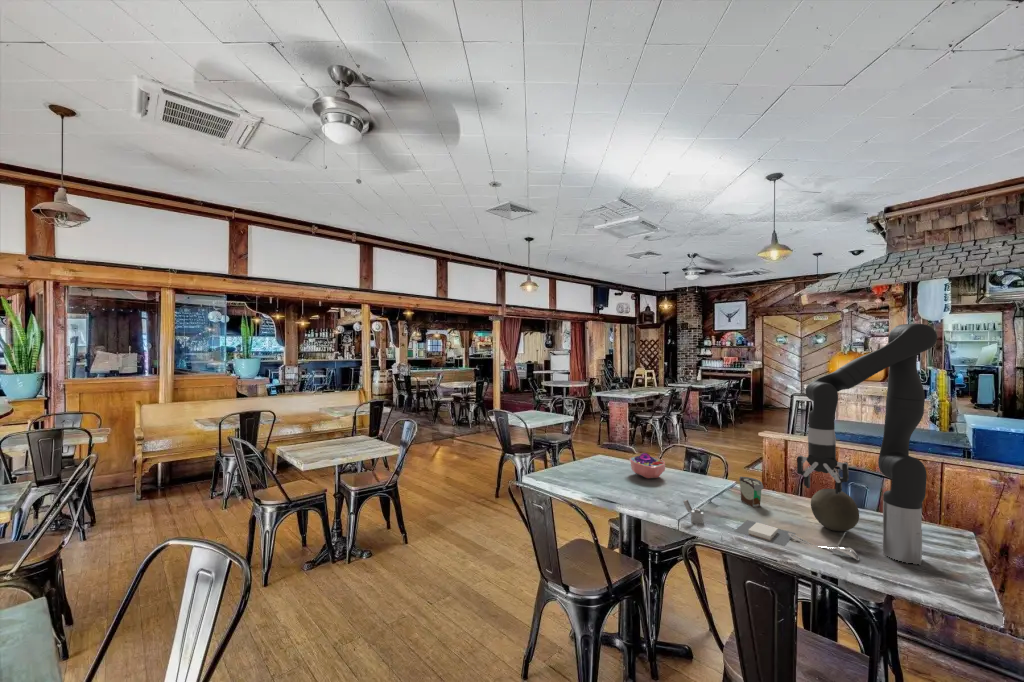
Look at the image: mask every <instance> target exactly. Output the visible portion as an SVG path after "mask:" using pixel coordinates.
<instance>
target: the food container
mask: <svg viewBox="0 0 1024 682" xmlns="http://www.w3.org/2000/svg"><path fill="white" fill-rule="evenodd" d="M738 479H739V480H738V481H739V485H740V486H739V489H740V490H739V492H740V501H741V502H743V503H744V504H746V505H748V506H750V507H752V508H761V499H762V498H761V497H762V491H763V490H764V485H763V482H762V481H761V480H759V479H757V478H753V477H748V476H739V478H738Z"/></svg>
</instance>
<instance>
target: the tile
mask: <svg viewBox="0 0 1024 682" xmlns="http://www.w3.org/2000/svg"><path fill="white" fill-rule="evenodd" d="M778 529H779V528H778V527H774V526H770V525H767V524H764V523H761V522H756V523H755V524H754V525H753V526H752V527H751V528H750V529H749V530H748V534H750V535H753V536H757V537H760V538H763V539H767V540H771V539H772V538H773V537H774V536H775V535H776V534H777V533H778Z"/></svg>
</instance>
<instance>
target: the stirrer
mask: <svg viewBox="0 0 1024 682" xmlns="http://www.w3.org/2000/svg"><path fill="white" fill-rule="evenodd" d="M792 533H793V532H792ZM792 533H788V535H789V536H790V537H791V539H793V540H794V541H796V542H798V543H800V544H804V545H809V546H813V547H815V548H820V549H832V550H837V551H839V552H841V553H844V554H846V555H847V556H850V557H851V558H853V559H854V560H856V561H860V557H859V555H858V553H857V552H856V551H855V550H854V549H853V548H851V547H848V546H845V545H844V546H841V545H840V546H824V545H823V546H822V545H817V544H813V543H811V542H808V541H807V540H805V539H803V538H801V537H799V536H798V535H796V534H795V535H794V534H792ZM791 535H793V537H792V536H791Z"/></svg>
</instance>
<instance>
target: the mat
mask: <svg viewBox="0 0 1024 682" xmlns="http://www.w3.org/2000/svg"><path fill="white" fill-rule="evenodd" d="M755 523H757V522H756V521H752V520H749V519H747V520H745V521H744V522H742V524H740V525H739V526H738V527H737V528H736V529H735V530H734V532H735V533H740V534H743V535H746V536H749V537H752V538H755V539H758V540H762V541H766V542H770V543H772V544H776V545H779V546H781V547H782V546H783V547H786V545H787V544H789V542H790V541H791V539H792V538H791V537H790V536H789V535H788V533H792V534H794V535H796V533H795V532H792V531H789V530H785V529H782V528H778V533H777V534H776V535H775V536H774V537H773V538H772V539H771V540H767V539H763V538H760V537H757V536H753V535H750V534H748V530H749V529H750V528H751V527H752V526H753V525H754V524H755ZM791 536H792V537H794V536H793V535H791Z"/></svg>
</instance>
